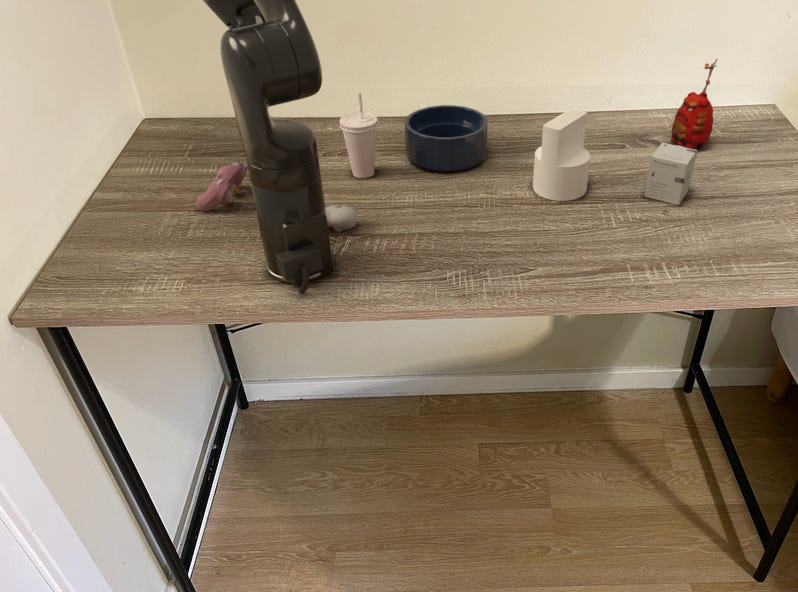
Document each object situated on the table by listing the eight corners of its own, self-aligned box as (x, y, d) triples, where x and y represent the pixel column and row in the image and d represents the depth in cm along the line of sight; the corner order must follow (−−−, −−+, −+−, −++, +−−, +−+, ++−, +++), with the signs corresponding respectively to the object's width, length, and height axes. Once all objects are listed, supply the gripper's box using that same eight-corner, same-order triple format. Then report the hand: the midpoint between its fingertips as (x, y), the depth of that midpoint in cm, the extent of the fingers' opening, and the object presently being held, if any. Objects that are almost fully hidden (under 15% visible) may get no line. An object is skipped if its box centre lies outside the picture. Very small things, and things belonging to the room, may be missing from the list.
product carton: (643, 197, 125) (650, 155, 121) (654, 182, 130) (661, 141, 125) (679, 206, 123) (688, 163, 119) (689, 190, 127) (698, 148, 123)
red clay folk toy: (661, 138, 143) (675, 57, 133) (692, 132, 145) (708, 51, 135) (687, 155, 137) (703, 71, 128) (718, 147, 140) (736, 64, 130)
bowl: (502, 160, 136) (504, 125, 132) (436, 182, 130) (435, 146, 125) (456, 132, 145) (456, 99, 141) (391, 152, 139) (389, 117, 134)
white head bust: (360, 228, 120) (354, 235, 116) (309, 226, 121) (302, 233, 116) (359, 200, 119) (354, 207, 114) (308, 198, 119) (301, 205, 114)
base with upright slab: (568, 206, 123) (575, 135, 115) (522, 190, 127) (526, 121, 120) (596, 185, 129) (604, 116, 121) (551, 170, 133) (556, 103, 125)
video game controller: (219, 223, 122) (229, 189, 118) (192, 209, 122) (202, 175, 117) (244, 194, 130) (255, 161, 125) (220, 180, 129) (230, 147, 124)
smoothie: (380, 181, 130) (373, 101, 121) (342, 181, 130) (333, 101, 121) (383, 165, 135) (377, 86, 126) (347, 164, 135) (339, 85, 126)
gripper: (207, -18, 112) (287, 69, 117) (259, -41, 122) (331, 41, 127) (185, 16, 117) (263, 99, 122) (237, -9, 127) (307, 69, 132)
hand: (297, 69), depth 124 cm, fingers open, 8 cm apart
